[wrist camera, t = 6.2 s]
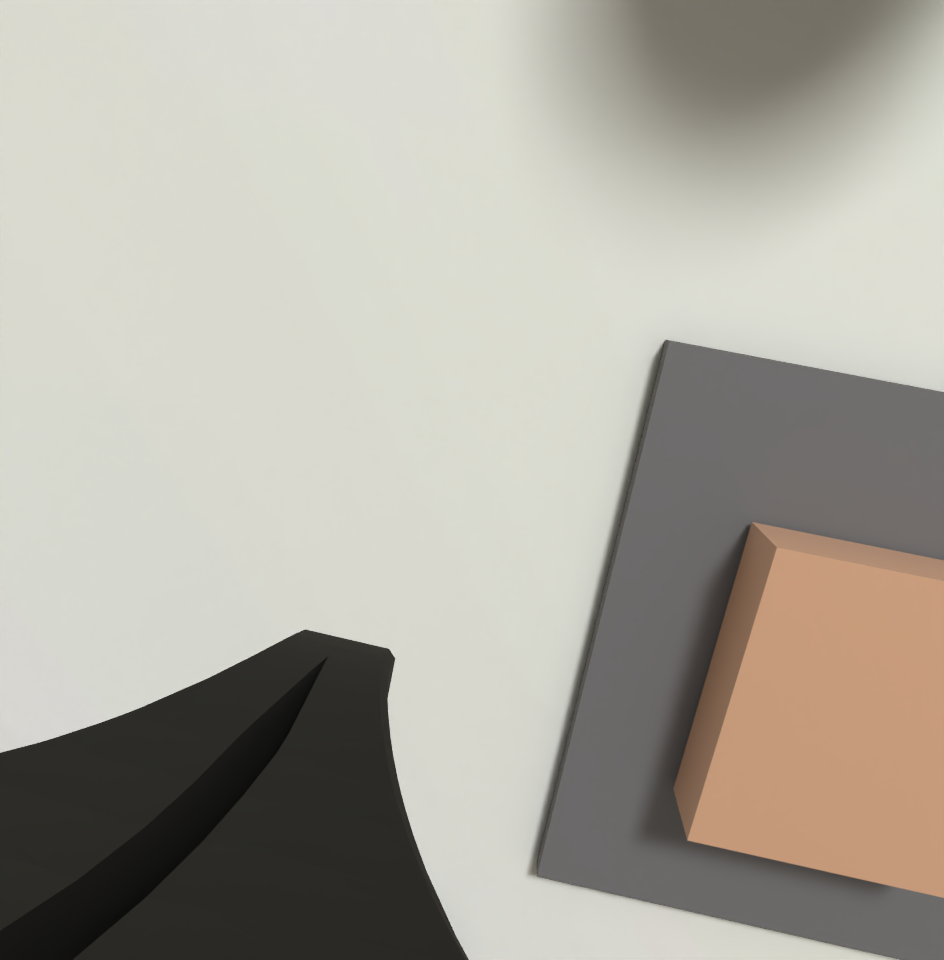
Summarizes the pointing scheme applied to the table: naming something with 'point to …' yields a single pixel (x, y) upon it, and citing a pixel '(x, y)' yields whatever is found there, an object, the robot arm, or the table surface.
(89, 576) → the table surface
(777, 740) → the tile
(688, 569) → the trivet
